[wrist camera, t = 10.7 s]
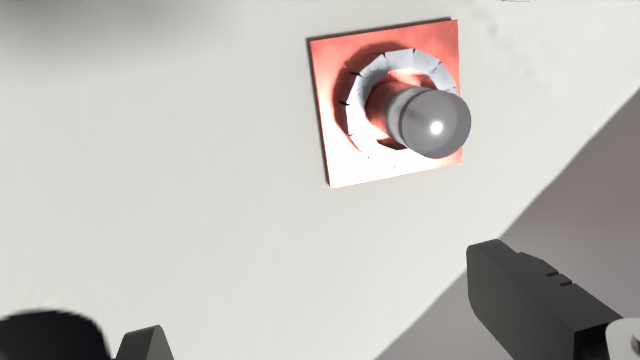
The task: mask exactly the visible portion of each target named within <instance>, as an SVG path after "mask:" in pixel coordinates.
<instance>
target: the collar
mask: <svg viewBox="0 0 640 360" xmlns="http://www.w3.org/2000/svg"><path fill="white" fill-rule="evenodd" d="M309 46H310V53H311V60H312V67H313V74H314V81H315V88H316V95H317V102H318V109H319V116H320V124H321V131H322V138H323V145H324V152H325V159H326V166H327V173H328V180H329V186H330V187H331V188H335V187H340V186H345V185H350V184H355V183H360V182H366V181H371V180H376V179H381V178H386V177H391V176H396V175H401V174H406V173H411V172H417V171H422V170H427V169H432V168H437V167H442V166H447V165H452V164H457V163H462V146H461V148H460V149H459V150H457V151H456V152H455V153H454V154H452V155H450V156H448V157H445V158H442V159H429V158H426V157H424V156H422V155H420V154H417V153H415V152H414V151H412V150H410V149H409V148H408V147H406V146H405V145H403V144H401V143H399V142H398V141H396V140H394V139H393V138H391V137H389V136H387V135H386V134H384V133H382V132H381V131H379V130H377V129H376V128H375V127H374V126H373V125H372V124H371V122H370V120H369V118H368V113H367V105H368V101H369V98H370V96H371V94H372V93H373V92H374V90H375V89H376V88H377V87H379V86H380V85H382V84H384V83H386V82H390V81H397V82H402V83H407V84H412V85H417V86H421V87H426V88H431V89H438V90H443V91H446V92H449V93H453V94H455V95H457V96H459V97H460V83H459V54H458V25H457V20H450V21H444V22H437V23H430V24H423V25H417V26H410V27H403V28H396V29H390V30H383V31H376V32H369V33H363V34H356V35H349V36H342V37H336V38H329V39H322V40H315V41H309Z"/></svg>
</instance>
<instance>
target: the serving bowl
mask: <svg viewBox="0 0 640 360" xmlns="http://www.w3.org/2000/svg"><path fill="white" fill-rule="evenodd" d="M502 1H513V2H528V1H536V0H502Z"/></svg>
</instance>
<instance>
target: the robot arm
mask: <svg viewBox="0 0 640 360" xmlns="http://www.w3.org/2000/svg"><path fill="white" fill-rule="evenodd" d="M466 257H467V279H468V296H469V301H470V304H471V307H472V309H473V311H474V313H475V315H476V316H477V318H478V319H479V320H480V321H481V322H482V324H483V325H484V326H485V327H486V328H487V329H488V330H489V332H490V333H491V334H492V335H493V336H494V337H495V338H496V340H497V341H498V342H499V343H500V344H501V345H502V346H503V347H504V349H505V350H506V351H507V352H508V353H509V354H510V356H511V357H512V358H513V359H514V360H640V318H623V317H621V316H620V315H619V314H617V313H616V312H615V311H613V310H612V309H610V308H609V307H608V306H606V305H605V304H603V303H602V302H601V301H599V300H598V299H596V298H595V297H594V296H592V295H591V294H589V293H588V292H587V291H585V290H584V289H582V288H581V287H580V286H578V285H577V284H573V283H572V281H571V280H570V279H568V278H567V277H566V276H564V275H563V274H559V272H558V271H557V270H556V269H554V268H553V267H552V266H550V265H549V264H547V263H546V262H545V261H543V260H541V259H539V258H536V257H533V256H531V255H528V254H526V253H523V252H520V253H516V252H515V251H513V250H512V249H511V248H509V247H508V246H507V245H506V244H504V243H503V242H502V241H500V240H498V239H493V240H489V241H485V242H482V243H478V244H474V245H470V246H468V248H467V252H466ZM111 360H174V358H173V356H172V353H171V350H170V347H169V345H168V342H167V339H166V337H165V334H164V331H163V329H162V328H161V326H160V325H155V326H152V327H148V328H144V329H140V330H136V331H132V332H128V333H126V334H125V335H124V337H123V339H122V342H121V345H120V348H119V350H118V353H117V356H116V358H114V359H111Z"/></svg>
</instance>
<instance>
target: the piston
mask: <svg viewBox="0 0 640 360" xmlns="http://www.w3.org/2000/svg"><path fill="white" fill-rule="evenodd" d="M367 113H368V118H369V120H370V122H371V124H372V125H373V126H374V127H375V128H376V129H377V130H379V131H381V132H382V133H384V134H386V135H387V136H389V137H391V138H393V139H394V140H396V141H398V142H399V143H401V144H403V145H405V146H406V147H408V148H409V149H410V150H412V151H414V152H415V153H417V154H420V155H422V156H424V157H426V158H429V159H442V158H445V157H448V156H450V155H452V154H454V153H455V152H456V151H457V150H459V149H460V148H461V146H462V145H463V144H464V143H465V141H466V139H467V137H468V135H469V132H470V128H471V115H470V111H469V108H468V106H467V104H466V103H465V102H464V101H463V100H462V99H461V98H460V97H459V96H457V95H455V94H453V93H449V92H446V91H443V90H438V89H431V88H426V87H421V86H417V85H412V84H407V83H402V82H397V81H390V82H386V83H384V84H382V85H380V86H379V87H377V88H376V89H375V90H374V92H373V93H372V94H371V96H370V98H369V101H368V105H367Z"/></svg>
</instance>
